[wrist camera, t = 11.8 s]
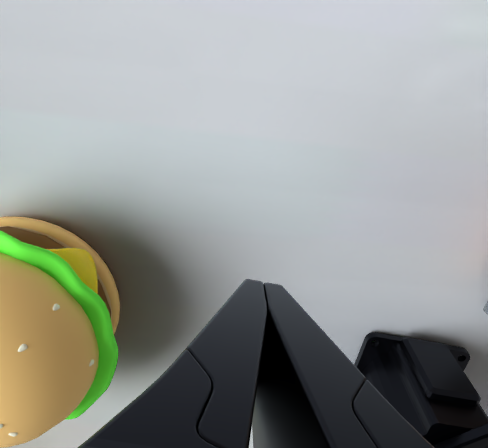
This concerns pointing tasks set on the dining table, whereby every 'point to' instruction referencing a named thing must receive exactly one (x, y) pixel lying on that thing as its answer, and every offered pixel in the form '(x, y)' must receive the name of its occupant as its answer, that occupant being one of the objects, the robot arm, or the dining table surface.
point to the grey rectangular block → (486, 308)
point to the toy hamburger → (51, 327)
